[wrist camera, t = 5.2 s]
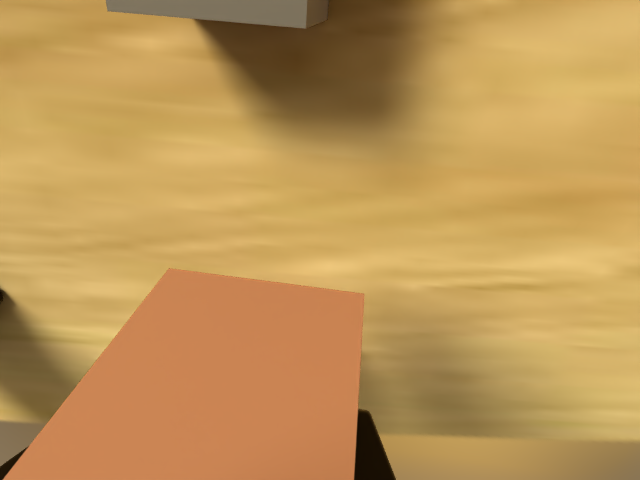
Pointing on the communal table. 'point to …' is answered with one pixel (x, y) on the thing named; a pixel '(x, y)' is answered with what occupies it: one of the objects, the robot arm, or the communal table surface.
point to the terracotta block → (214, 388)
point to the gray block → (232, 10)
